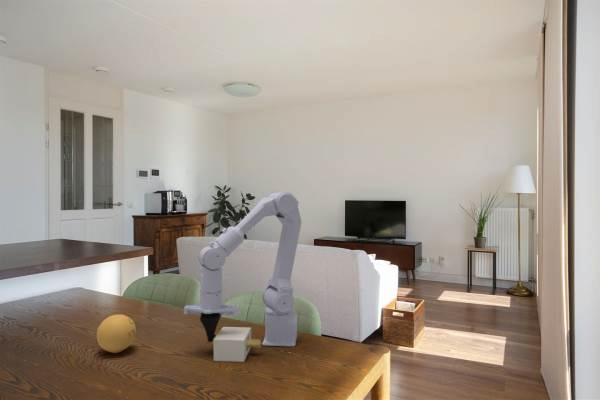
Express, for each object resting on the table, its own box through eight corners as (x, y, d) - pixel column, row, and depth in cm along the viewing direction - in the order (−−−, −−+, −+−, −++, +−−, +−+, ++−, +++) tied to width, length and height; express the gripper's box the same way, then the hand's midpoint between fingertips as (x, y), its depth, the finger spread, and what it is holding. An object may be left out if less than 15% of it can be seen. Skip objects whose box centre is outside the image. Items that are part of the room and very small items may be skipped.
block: (250, 347, 115) (251, 327, 115) (244, 361, 105) (244, 340, 105) (223, 346, 116) (223, 326, 116) (213, 360, 106) (213, 339, 106)
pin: (261, 348, 112) (261, 333, 112) (259, 353, 108) (259, 338, 108) (216, 346, 113) (216, 332, 113) (212, 352, 109) (212, 337, 109)
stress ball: (101, 363, 106) (131, 339, 106) (81, 332, 107) (111, 308, 107) (122, 355, 115) (149, 332, 116) (103, 327, 117) (130, 304, 117)
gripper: (179, 293, 107) (179, 345, 107) (234, 295, 106) (233, 346, 106) (188, 287, 114) (188, 335, 114) (239, 288, 113) (239, 337, 113)
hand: (210, 340), depth 111 cm, fingers closed
